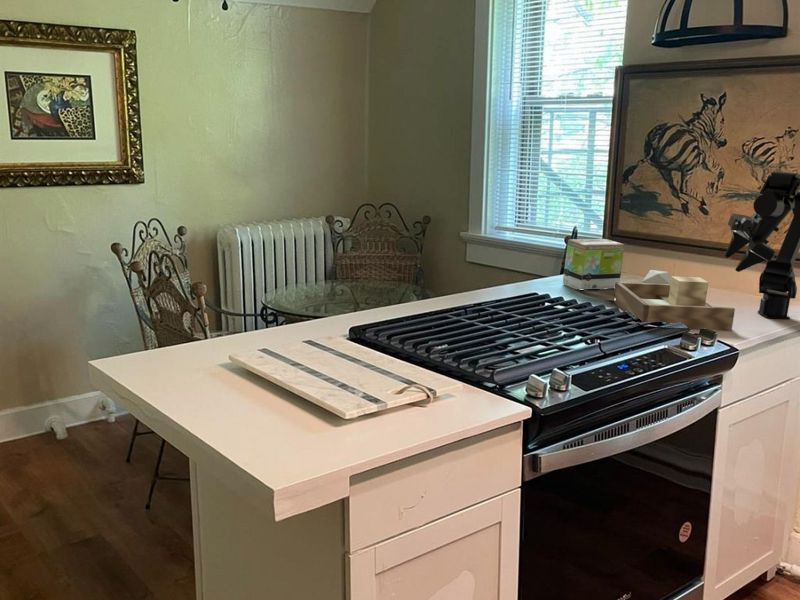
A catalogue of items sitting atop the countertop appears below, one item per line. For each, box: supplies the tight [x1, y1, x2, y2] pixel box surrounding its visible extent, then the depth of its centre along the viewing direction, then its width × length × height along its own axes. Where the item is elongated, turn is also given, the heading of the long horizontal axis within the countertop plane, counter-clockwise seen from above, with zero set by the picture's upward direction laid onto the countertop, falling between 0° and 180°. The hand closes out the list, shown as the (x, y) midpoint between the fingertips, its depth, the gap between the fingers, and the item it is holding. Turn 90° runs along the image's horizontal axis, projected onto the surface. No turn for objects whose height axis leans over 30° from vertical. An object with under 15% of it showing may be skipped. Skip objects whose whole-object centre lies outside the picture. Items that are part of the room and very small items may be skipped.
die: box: [641, 269, 671, 284], centre depth 236 cm, size 8×9×10 cm
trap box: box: [612, 281, 736, 332], centre depth 216 cm, size 24×26×6 cm
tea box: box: [562, 238, 626, 291], centre depth 246 cm, size 15×10×15 cm, turn 115°
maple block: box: [668, 275, 709, 306], centre depth 215 cm, size 8×6×8 cm
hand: (731, 263), depth 214 cm, fingers open, 9 cm apart
